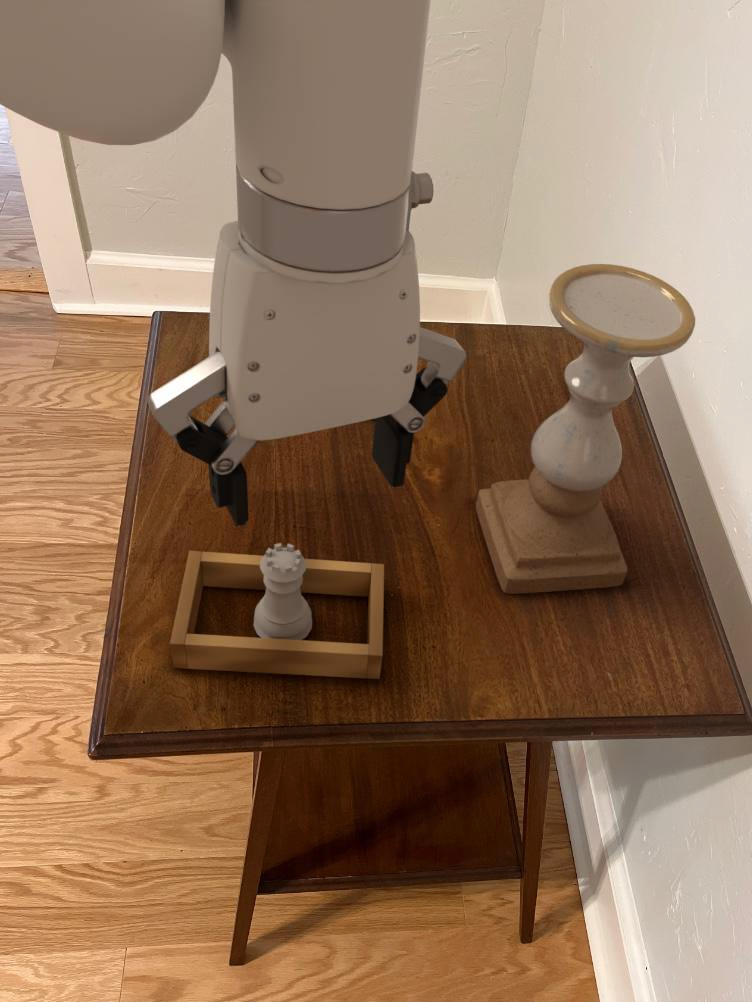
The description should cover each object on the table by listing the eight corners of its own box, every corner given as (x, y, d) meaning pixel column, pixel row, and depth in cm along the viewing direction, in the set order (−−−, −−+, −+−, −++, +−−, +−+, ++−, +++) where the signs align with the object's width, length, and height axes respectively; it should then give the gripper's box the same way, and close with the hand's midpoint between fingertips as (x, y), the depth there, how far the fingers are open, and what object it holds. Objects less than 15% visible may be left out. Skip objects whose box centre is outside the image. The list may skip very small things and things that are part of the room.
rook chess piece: (250, 606, 71) (247, 535, 65) (308, 601, 72) (310, 530, 66) (256, 652, 68) (254, 582, 62) (316, 646, 69) (319, 576, 63)
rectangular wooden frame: (173, 668, 66) (169, 643, 64) (191, 576, 72) (189, 550, 70) (379, 679, 68) (382, 655, 66) (381, 588, 74) (384, 563, 72)
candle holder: (624, 586, 78) (727, 349, 60) (502, 595, 75) (571, 350, 57) (586, 497, 85) (668, 260, 67) (473, 502, 82) (526, 257, 64)
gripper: (454, 155, 46) (416, 422, 59) (102, 187, 39) (147, 480, 52) (528, 230, 42) (470, 498, 55) (152, 279, 35) (186, 572, 48)
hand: (313, 489), depth 54 cm, fingers open, 9 cm apart
